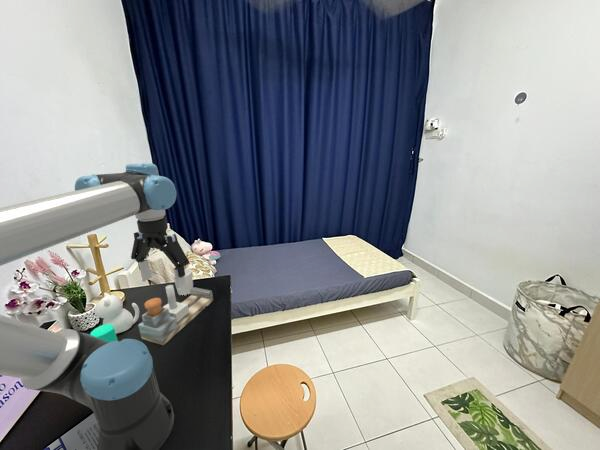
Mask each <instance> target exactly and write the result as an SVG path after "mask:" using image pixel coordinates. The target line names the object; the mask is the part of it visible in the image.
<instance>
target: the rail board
mask: <svg viewBox="0 0 600 450" xmlns="http://www.w3.org/2000/svg"><path fill="white" fill-rule="evenodd" d="M190 292H191V293H190V296H188V297H187V298H186V299H184V300H183V301H181V303H183V304H188V309H189V313H188V314H187V315H185V316H184V317H183V318H182V319H181V320H179V321H178V322H177V320H176V318H174V317H170V315H169V310H168V308H164V306H161V308H162V311H161V312H160V313H159V314H157V315H156V316H151V315H148V311H146V312H144V313H143V314H142V315H141V317H142V318H141V319H142V321H141V322H140V323H138V325H137V326H138V330H139V334H140V337H141V339H142V340H145V341H148V342H151V343H155V344H157V345H161V346H165V345H166V344H167V343H168V342H169V341H170V340H171V339H172V338H174V337H175V335H177V334H178V333H179V332H180V331H181V330H182V329H183V328H184V327H186V326H187V325H188V324H189V323H190V322H191V321H192V320H194V319H195V318H196V317H197V316H198V315H199V314H200V313H201V312H202V311H203V310H204V309H206V308H207V307H208V306H210V304H211V303H213V302H214V296H213V290H210V289H205V288H201V287H200V288H199V287H196V286H195V287H194V286H193V288H191V289H190ZM206 306H207V307H206ZM205 307H206V308H205Z"/></svg>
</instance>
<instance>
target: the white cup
mask: <svg viewBox="0 0 600 450" xmlns="http://www.w3.org/2000/svg"><path fill="white" fill-rule="evenodd" d="M184 270H185V276H184V278H185V284H184V285H183V286H181V287H180V288H177V285H176V280H175V274H174V273H173V274H172V277H173V280H174V285H175V288H176V292H177V294H178V295H179V296H181V295H182V296H183V295H184V296H188V295H191V292H190V289H191V288H193V287H194V279H193V270H192V269H190V268H184ZM187 294H188V295H187ZM184 296H183V297H184Z"/></svg>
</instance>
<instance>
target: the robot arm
mask: <svg viewBox="0 0 600 450" xmlns="http://www.w3.org/2000/svg"><path fill="white" fill-rule="evenodd" d="M176 200H177V189H176V186H175V184H174V182H173V181H172V180H171V179H170V178H168V177H166V176H163V175H162V176H161V175H160V174H159V169H158V166H157V165H156V164H154V163H146V162H145V163H144V162H143V163H127V164H126V165H125V171H124V172H117V173H103V174H102V173H101V174H94V173H93V174H91V175H85V176H80V177H78V178H77V179H76V180H75V183H74V190H73V191H69V192H64V193H60V194H57V195H56V194H55V195H51V196H47V197H43V198H38V199H33V200H30V201H25V202H20V203H16V204H13V205H8V206H4V207H0V267H1V266H3V265H8V264H9V263H11V262H15V261H18V260H20V259H22V258H25V257H28V256H30V255H33V254H35V253H38V252H40V251H41V252H42V251H43V250H46V249H49V248H51V247H54V246H57V245H59V244H63V243H64V242H66V241H70V240H72V239H74V238H77V237H80V236H82V235H85V234H88V233H91V232H93V231H96V230H98V229H102V228H105V227H106V226H109V225H112V224H115V223H117V222H119V221H122V220H125V219H127V218H130V217H133V216H135V219H137V220H136V224H137V229H138V231H136V232H133V238H134V241H133V245H132V250H131V254H130V258H131V259H132V260H135V261H136V262H137V266H138V269H139V271H140V276H141V281H142V282H147V281H148V280H150V279H152V273H151V267H150V263H149V259H147V257H148V255H149V252H150V251H151V250H152V249H156V250H159V252H162V253H163V254H164V255H165V257H167V258H168V260H169V262H170V263H172V265H173V266H174V268H173V274H175V280H176V285H177V288H180V287H181V286H183V285H184V284H185V278H184V276H185V270H184V269H185V267H186V266H188V265H189V264H190V261H189V259H188V256H187V255H186V254H185V251H184V250H183V247H182V246H181V245H180V242H179V241H178V236H177V234H176V233H173V234H171V235H170V234H169V235H168V233H167V230H168V228H169V225H168V220H167V217H166V210H167V209H169V208H171V207H172V206H173V205H174V204H175V202H176ZM176 285H175V286H176ZM177 288H176V289H177ZM153 362H154V361H153V357H152V355H151V353H150V350H149V349H148V347H147V345H146V344H145V343H144V342H142V341H141V340H138V339H135V338H123V339H122V340H119V339H118V340H116V341H112V342H107V341H104V340H101V339H98V338H96V337H94V336H92V335H90V333H86V332H82V331H79V330H76V329H71V328H65V329H61V330H59V331H56V332H55V331H52V330H48V329H45V328H42V327H41V326H37V325H33V324H29V323H27V322H24V321H20V320H17V319H15V318H12V317H7V316H5V315H2V314H0V376H3V377H11V378H16V379H20V382H21V385H22V386H23V387H24V388H25V389H27V390H31V391H40V392H46V393H47V392H49V393H55V394H58V395H62V396H65V397H67V398H69V399H71V400H74V401H75V402H77V403H79V404H82V405H83V406H86V407H87V408H89V409H90V410H91V411H92V412H93V414H94V416H95V419H96V422H97V424H98V427H99V432H98V440H97V441H98V442H97V447H96V450H160V449H161V448H162V447H163V445H164V444H165V443H166V441H167V440H168V438H169V436H170V434H171V432H172V430H173V428H174V424H175V413H174V410H173V406H172V403H171V402H170V400H169V399H168V398H167V397H166V396H165V395H164V394H163V393H162V392H161V391H160V388H159V384H158V380H157V376H156V372H155V368H154V365H153V364H154V363H153Z"/></svg>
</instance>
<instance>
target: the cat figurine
mask: <svg viewBox="0 0 600 450" xmlns="http://www.w3.org/2000/svg"><path fill="white" fill-rule="evenodd" d="M123 304H124V302H123V301H122V299H121V298H120V296H118V295H114V294H109V293H108V292H104V293H103V297H102V298H101V299H100V300H99V301H98V302H97V304H96V305H95V307H94V314H95V316H97V317H98V318H101V319H103V320H102V325H104V324H111V325H113V326H114V329H115V333H116V335H117V334H120V333H124V332H126V331H128V330H129V329H130V328H131V327H132V326H133V325H134V324H135V323H136V322H137V321H138V320H139V317H140V308H139V306H138V304H137V303H136V302H132V303H131V306H132V308H133V310H134V317H133V315H132V313H131V312H130V311H129V310H127V309H126V308H124V307H123Z"/></svg>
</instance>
